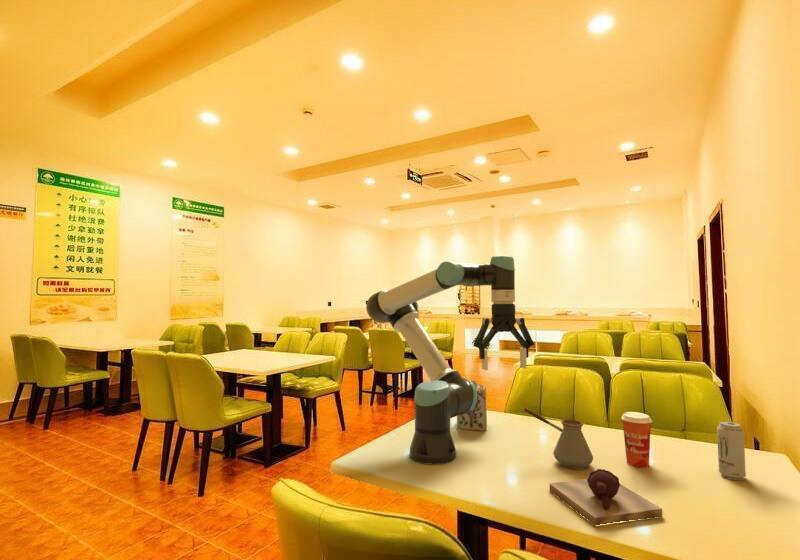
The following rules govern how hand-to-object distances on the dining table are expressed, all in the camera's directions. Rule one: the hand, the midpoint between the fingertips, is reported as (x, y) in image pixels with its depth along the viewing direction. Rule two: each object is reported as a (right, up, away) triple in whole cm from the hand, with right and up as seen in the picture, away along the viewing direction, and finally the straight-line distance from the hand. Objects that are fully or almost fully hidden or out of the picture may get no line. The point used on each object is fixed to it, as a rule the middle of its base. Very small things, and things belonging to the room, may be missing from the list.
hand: (504, 368), depth 134 cm
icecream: (+17, -25, -31) cm, 44 cm away
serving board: (+17, -27, -30) cm, 44 cm away
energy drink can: (+62, -28, -15) cm, 69 cm away
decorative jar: (-5, -31, +33) cm, 46 cm away
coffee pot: (+16, -29, -3) cm, 33 cm away
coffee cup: (+40, -29, -6) cm, 49 cm away
